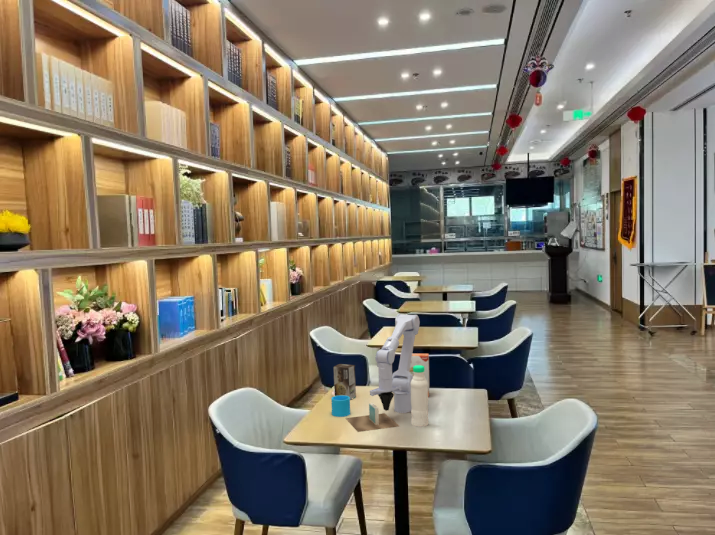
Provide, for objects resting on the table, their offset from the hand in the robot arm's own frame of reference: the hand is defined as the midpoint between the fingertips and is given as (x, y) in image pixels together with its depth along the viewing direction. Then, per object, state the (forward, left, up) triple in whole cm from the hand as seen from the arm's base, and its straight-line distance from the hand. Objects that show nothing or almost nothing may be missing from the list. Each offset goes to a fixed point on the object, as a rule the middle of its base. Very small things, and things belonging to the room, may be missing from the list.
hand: (386, 409), depth 222 cm
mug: (+15, -17, -6) cm, 23 cm away
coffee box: (+6, -42, -6) cm, 43 cm away
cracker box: (-27, -32, -6) cm, 42 cm away
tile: (+6, 0, -4) cm, 7 cm away
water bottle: (-11, +9, -6) cm, 16 cm away
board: (+7, 0, -5) cm, 8 cm away
